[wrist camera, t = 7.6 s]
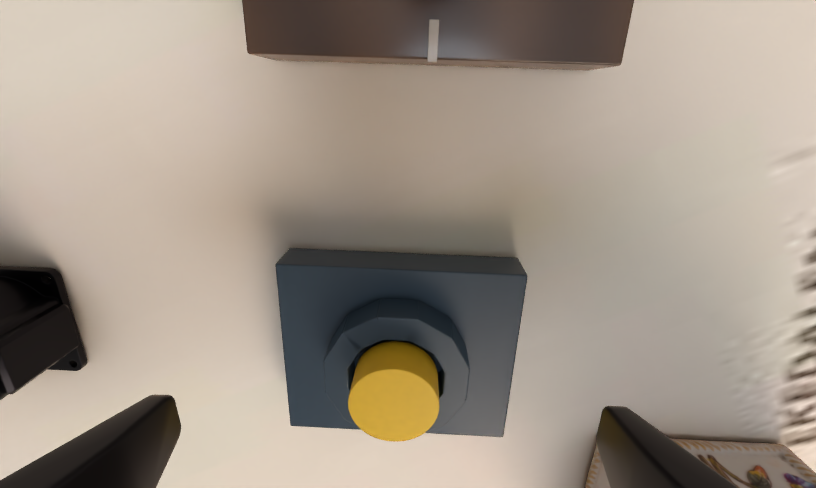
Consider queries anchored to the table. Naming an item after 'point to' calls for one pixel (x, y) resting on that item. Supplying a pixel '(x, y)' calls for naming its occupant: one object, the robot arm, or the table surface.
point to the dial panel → (442, 32)
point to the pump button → (394, 392)
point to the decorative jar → (735, 464)
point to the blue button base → (400, 329)
